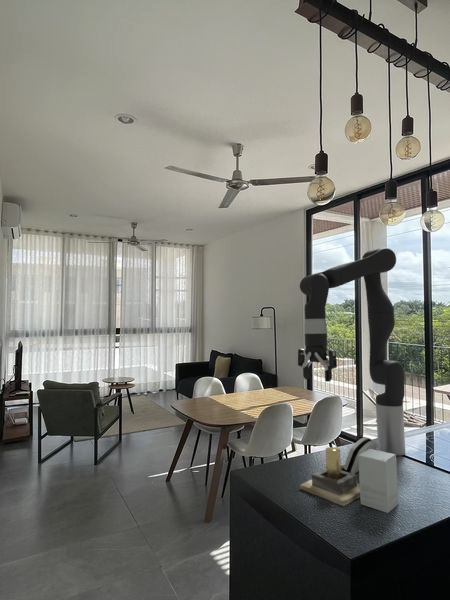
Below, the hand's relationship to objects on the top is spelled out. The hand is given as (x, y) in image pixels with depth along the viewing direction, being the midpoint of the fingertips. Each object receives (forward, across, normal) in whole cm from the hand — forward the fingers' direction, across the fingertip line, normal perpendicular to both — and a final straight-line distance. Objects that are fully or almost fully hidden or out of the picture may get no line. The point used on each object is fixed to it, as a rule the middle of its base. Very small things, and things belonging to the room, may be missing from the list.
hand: (317, 380), depth 126 cm
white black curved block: (+28, -9, -9) cm, 31 cm away
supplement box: (+28, -26, +12) cm, 41 cm away
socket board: (+28, -14, +13) cm, 34 cm away
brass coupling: (+27, -14, +13) cm, 33 cm away
